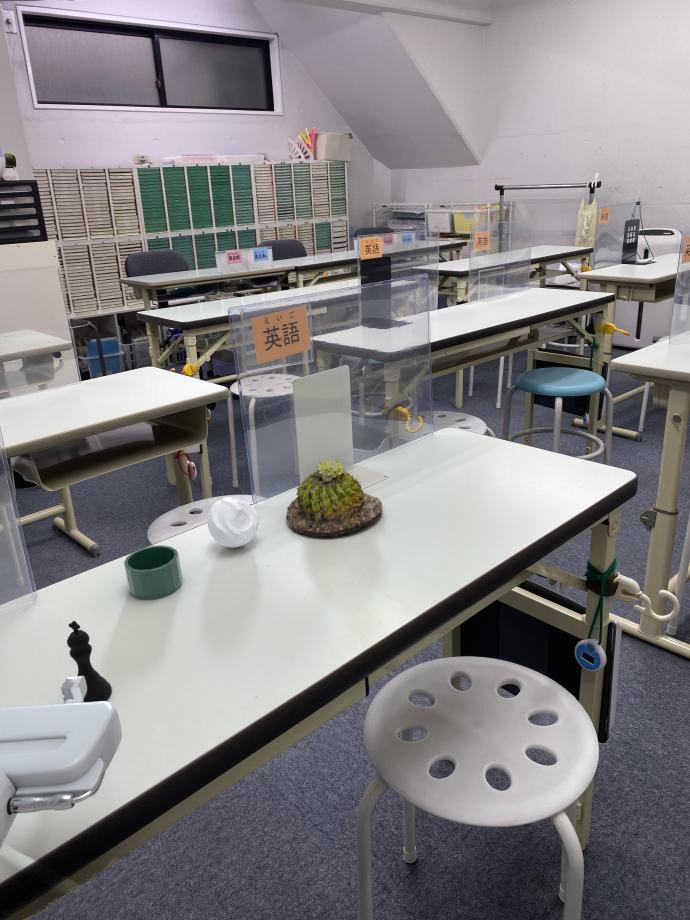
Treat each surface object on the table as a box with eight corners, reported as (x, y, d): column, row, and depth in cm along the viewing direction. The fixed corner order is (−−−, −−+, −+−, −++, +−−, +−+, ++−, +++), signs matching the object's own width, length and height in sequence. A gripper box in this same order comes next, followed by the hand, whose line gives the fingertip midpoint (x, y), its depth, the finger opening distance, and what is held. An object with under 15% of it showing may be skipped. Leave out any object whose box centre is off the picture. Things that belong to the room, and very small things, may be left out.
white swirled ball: (231, 561, 104) (225, 515, 101) (200, 547, 108) (193, 503, 105) (269, 540, 109) (264, 496, 106) (238, 528, 114) (232, 485, 111)
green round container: (123, 601, 95) (117, 573, 93) (137, 573, 102) (131, 547, 100) (176, 597, 95) (171, 569, 93) (186, 570, 102) (182, 543, 100)
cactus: (348, 547, 105) (344, 489, 102) (266, 527, 113) (260, 473, 110) (399, 503, 119) (398, 451, 115) (323, 488, 127) (319, 439, 123)
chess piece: (91, 714, 74) (72, 637, 71) (62, 703, 76) (42, 627, 72) (120, 688, 78) (103, 614, 74) (92, 678, 80) (74, 605, 76)
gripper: (83, 772, 48) (134, 649, 61) (-211, 792, 48) (-96, 664, 61) (100, 837, 50) (146, 705, 63) (-180, 857, 50) (-76, 721, 63)
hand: (25, 685), depth 62 cm, fingers open, 8 cm apart
